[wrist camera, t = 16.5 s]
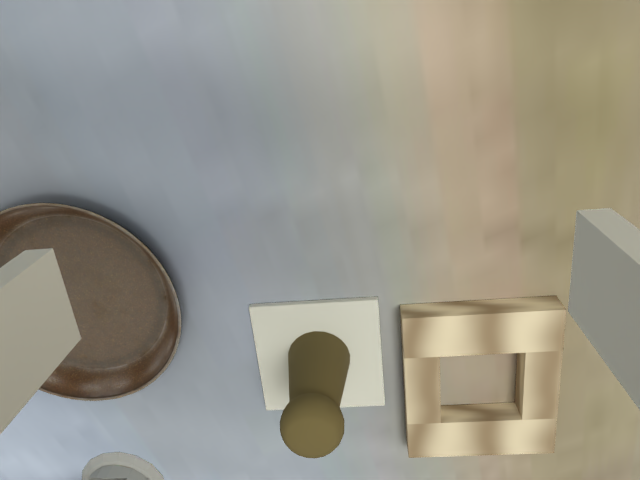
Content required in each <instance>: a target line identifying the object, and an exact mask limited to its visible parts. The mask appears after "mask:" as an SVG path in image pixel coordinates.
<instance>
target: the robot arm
mask: <svg viewBox="0 0 640 480" xmlns="http://www.w3.org/2000/svg"><path fill="white" fill-rule="evenodd" d="M568 312H569V313H570V315H571V316H572V318H573V319H574V320H575V322H576V323H577V324H578V326H579V327H580V329H581V330H582V331H583V333H584V334H585V335H586V337H587V338H588V340H589V341H590V342H591V344H592V345H593V346H594V348H595V349H596V351H597V352H598V353H599V355H600V356H601V357H602V359H603V360H604V362H605V363H606V364H607V366H608V367H609V368H610V370H611V371H612V373H613V374H614V375H615V377H616V378H617V379H618V381H619V382H620V384H621V385H622V386H623V388H624V389H625V390H626V392H627V393H628V395H629V396H630V397H631V399H632V400H633V401H634V403H635V404H636V406H637V407H638V408H639V410H640V230H639V229H638V228H637V227H635V226H634V225H633V224H631V223H630V222H629V221H627V220H626V219H625V218H623V217H622V216H621V215H619V214H618V213H617V212H615V211H614V210H613V209H611V208H603V209H589V210H577V214H576V226H575V237H574V249H573V260H572V272H571V283H570V295H569V306H568ZM80 339H81V336H80V333H79V330H78V326H77V323H76V320H75V317H74V314H73V311H72V307H71V304H70V301H69V298H68V295H67V292H66V288H65V285H64V282H63V279H62V276H61V272H60V269H59V266H58V263H57V260H56V257H55V253H54V250H53V248H49V249H35V250H25V251H23V252H22V253H20V254H19V255H18V256H16V257H15V258H13V259H12V260H11V261H9V262H8V263H6V264H5V265H4V266H2V267H1V268H0V434H1V433H2V432H3V431H4V429H5V428H6V427H7V426H8V425H9V424H10V422H11V421H12V420H13V419H14V418H15V416H16V415H17V414H18V413H19V412H20V410H21V409H22V408H23V407H24V406H25V405H26V403H27V402H28V401H29V400H30V399H31V397H32V396H33V395H34V394H35V393H36V392H37V390H38V389H39V388H40V387H41V386H42V384H43V383H44V382H45V381H46V380H47V379H48V377H49V376H50V375H51V374H52V373H53V371H54V370H55V369H56V368H57V367H58V366H59V364H60V363H61V362H62V361H63V360H64V358H65V357H66V356H67V355H68V354H69V352H70V351H71V350H72V349H73V348H74V347H75V345H76V344H77V343H78V342H79V341H80Z"/></svg>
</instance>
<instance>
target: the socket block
mask: <svg viewBox="0 0 640 480" xmlns="http://www.w3.org/2000/svg"><path fill="white" fill-rule="evenodd" d="M400 316H401V336H402V357H403V377H404V397H405V418H406V438H407V447H408V455H409V458H415V457H445V456H476V455H507V454H538V453H554V448H555V436H556V424H557V413H558V401H559V389H560V377H561V366H562V354H563V342H564V331H565V319H566V309H565V307H564V306H563V304H562V303H561V302H560V300H559V299H558V297H557V296H541V297H524V298H507V299H490V300H473V301H456V302H439V303H421V304H404V305H400ZM507 353H517V366H516V387H515V402H514V403H490V404H466V405H441V404H440V357H446V356H467V355H487V354H507Z"/></svg>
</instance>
